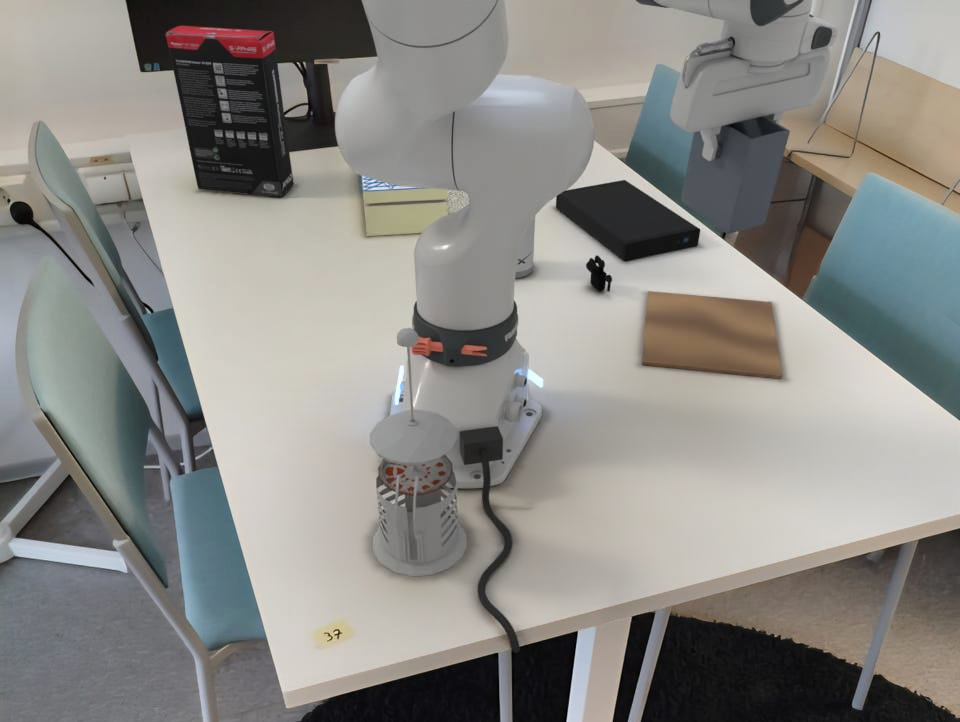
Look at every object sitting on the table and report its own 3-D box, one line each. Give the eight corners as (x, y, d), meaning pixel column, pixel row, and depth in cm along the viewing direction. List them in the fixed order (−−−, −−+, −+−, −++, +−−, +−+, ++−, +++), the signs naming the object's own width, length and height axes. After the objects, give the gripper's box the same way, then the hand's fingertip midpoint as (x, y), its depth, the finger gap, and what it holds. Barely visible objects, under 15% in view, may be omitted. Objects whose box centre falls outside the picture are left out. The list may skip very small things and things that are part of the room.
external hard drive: (623, 195, 159) (625, 179, 157) (697, 245, 142) (700, 228, 141) (555, 208, 154) (556, 192, 152) (624, 261, 138) (626, 244, 136)
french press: (471, 511, 92) (470, 303, 76) (460, 593, 83) (456, 376, 67) (380, 506, 93) (360, 299, 77) (360, 586, 84) (332, 370, 68)
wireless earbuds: (612, 298, 129) (616, 267, 125) (597, 301, 128) (600, 269, 125) (591, 277, 134) (594, 247, 131) (577, 280, 133) (579, 249, 130)
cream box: (451, 231, 147) (450, 171, 140) (363, 236, 145) (358, 175, 138) (426, 141, 181) (424, 89, 174) (355, 144, 179) (350, 92, 173)
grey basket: (790, 130, 101) (736, 100, 107) (750, 140, 99) (698, 109, 105) (764, 223, 109) (716, 191, 115) (727, 234, 107) (680, 201, 113)
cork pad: (781, 379, 112) (782, 375, 112) (642, 364, 115) (642, 361, 114) (770, 304, 127) (771, 301, 127) (647, 293, 130) (648, 290, 129)
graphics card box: (297, 185, 162) (275, 26, 145) (284, 199, 157) (260, 36, 140) (211, 179, 165) (180, 22, 147) (196, 193, 159) (161, 32, 142)
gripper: (707, 55, 91) (682, 180, 100) (849, 28, 98) (814, 146, 107) (670, 36, 94) (650, 158, 104) (810, 11, 102) (779, 127, 111)
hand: (734, 152), depth 106 cm, fingers closed on grey basket, 6 cm apart
